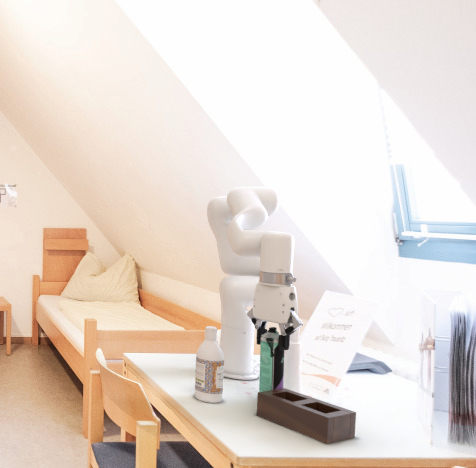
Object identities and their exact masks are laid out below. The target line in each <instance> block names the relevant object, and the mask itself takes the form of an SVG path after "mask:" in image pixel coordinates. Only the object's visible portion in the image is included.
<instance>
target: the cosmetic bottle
mask: <svg viewBox="0 0 476 468" xmlns="http://www.w3.org/2000/svg"><path fill="white" fill-rule="evenodd" d="M290 325H291V326H292V325H293V323H290ZM300 336H301V327H300V328H299V329H297V330H296V331H295V332H293V334H292V335H290V344H289V349H288V350H284V379H283V388H285V389H288V390H291V391H294V392H297V393H300V394H303V387H302V386H303V383H302V381H303V380H302V343H301V340H300V338H301V337H300Z"/></svg>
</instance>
